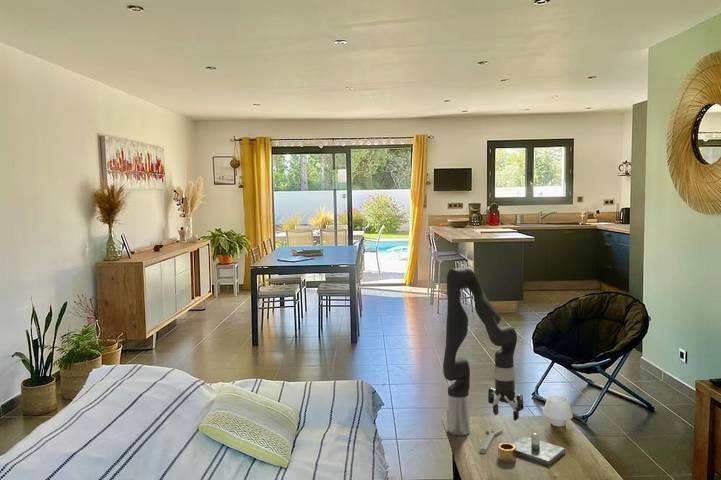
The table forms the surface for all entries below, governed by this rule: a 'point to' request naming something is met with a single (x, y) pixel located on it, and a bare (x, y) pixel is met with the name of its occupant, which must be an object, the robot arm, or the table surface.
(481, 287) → the robot arm
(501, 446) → the wooden octagonal ring
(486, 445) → the adjustable wrench
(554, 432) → the table surface
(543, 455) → the block
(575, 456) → the table surface
